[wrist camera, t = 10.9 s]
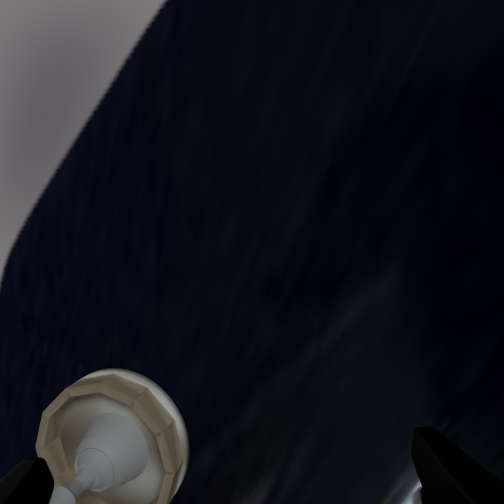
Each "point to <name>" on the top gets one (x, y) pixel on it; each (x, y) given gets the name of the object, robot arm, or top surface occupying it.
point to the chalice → (105, 458)
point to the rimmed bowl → (134, 408)
